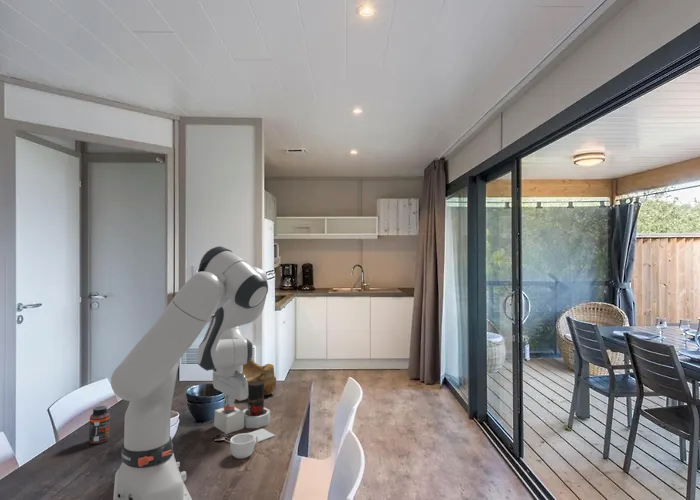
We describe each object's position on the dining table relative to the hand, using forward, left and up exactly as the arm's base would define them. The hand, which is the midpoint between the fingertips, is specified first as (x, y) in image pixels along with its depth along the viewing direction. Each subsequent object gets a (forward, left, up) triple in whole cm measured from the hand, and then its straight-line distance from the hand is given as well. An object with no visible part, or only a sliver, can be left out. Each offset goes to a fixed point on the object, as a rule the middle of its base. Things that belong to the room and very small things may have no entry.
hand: (229, 406), depth 155 cm
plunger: (0, 0, -6) cm, 6 cm away
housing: (-2, -5, -8) cm, 10 cm away
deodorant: (-3, -9, -8) cm, 13 cm away
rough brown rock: (+27, -24, -8) cm, 37 cm away
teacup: (-22, +7, -8) cm, 24 cm away
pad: (-14, -4, -8) cm, 16 cm away
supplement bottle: (+20, +38, -8) cm, 43 cm away
